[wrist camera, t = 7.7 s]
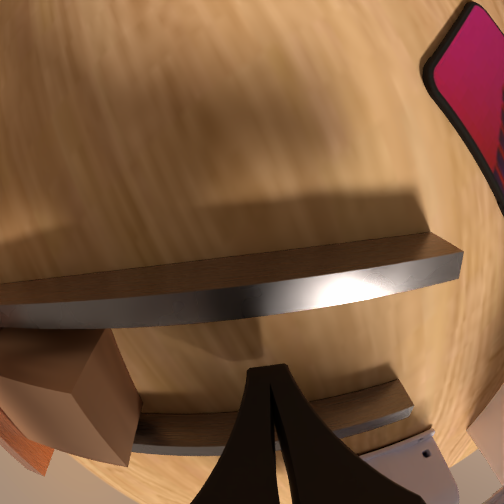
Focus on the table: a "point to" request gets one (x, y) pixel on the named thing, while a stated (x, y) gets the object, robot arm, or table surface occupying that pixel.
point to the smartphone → (473, 89)
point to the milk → (491, 433)
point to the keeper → (70, 391)
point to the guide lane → (229, 308)
